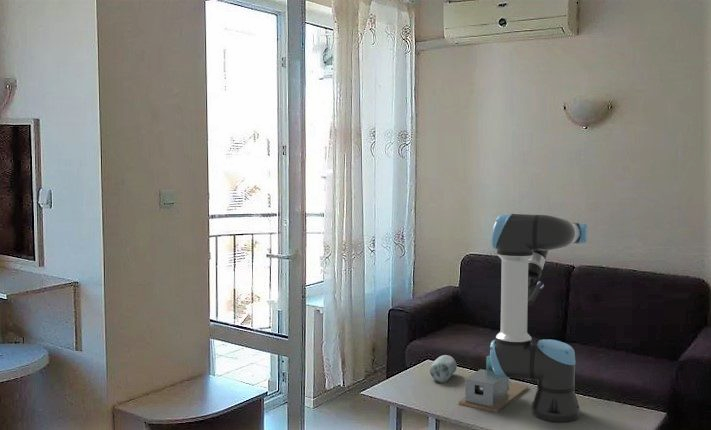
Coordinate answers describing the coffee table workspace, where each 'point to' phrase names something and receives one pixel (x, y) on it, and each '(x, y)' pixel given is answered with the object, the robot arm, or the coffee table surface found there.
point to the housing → (490, 391)
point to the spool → (443, 368)
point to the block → (489, 368)
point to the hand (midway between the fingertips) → (515, 319)
